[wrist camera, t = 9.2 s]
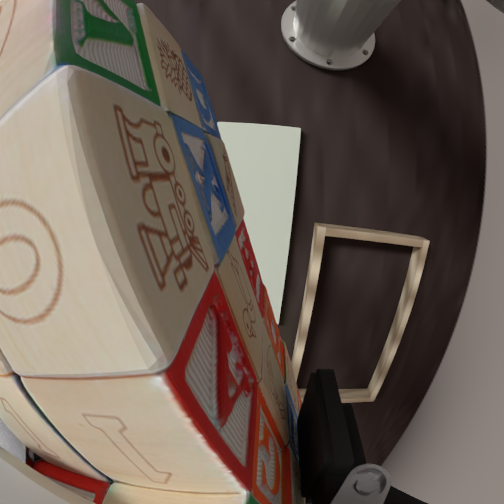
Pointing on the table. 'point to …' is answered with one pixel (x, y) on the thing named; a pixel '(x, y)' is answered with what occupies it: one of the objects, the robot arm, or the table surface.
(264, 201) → the sage mat
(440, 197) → the table surface
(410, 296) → the beige open rectangular frame
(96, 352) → the stack of blocks
